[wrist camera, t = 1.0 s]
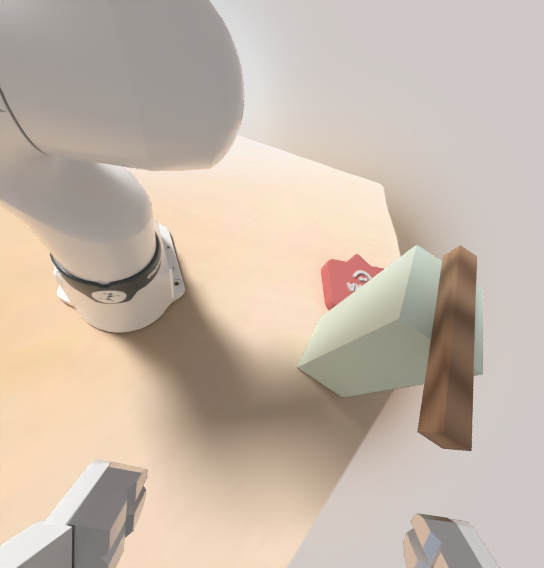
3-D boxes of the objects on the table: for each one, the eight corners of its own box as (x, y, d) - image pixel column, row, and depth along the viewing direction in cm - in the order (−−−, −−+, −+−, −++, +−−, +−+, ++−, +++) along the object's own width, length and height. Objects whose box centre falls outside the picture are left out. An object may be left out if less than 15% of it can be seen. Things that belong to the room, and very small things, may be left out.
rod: (442, 448, 20) (471, 451, 18) (417, 431, 20) (443, 432, 18) (458, 266, 33) (476, 256, 31) (442, 256, 33) (460, 245, 31)
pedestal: (342, 397, 47) (482, 374, 25) (296, 367, 47) (398, 318, 25) (359, 343, 54) (483, 288, 32) (320, 317, 54) (416, 244, 32)
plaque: (389, 258, 64) (404, 314, 57) (379, 266, 67) (392, 320, 60) (325, 246, 59) (334, 305, 52) (317, 255, 62) (324, 312, 55)
